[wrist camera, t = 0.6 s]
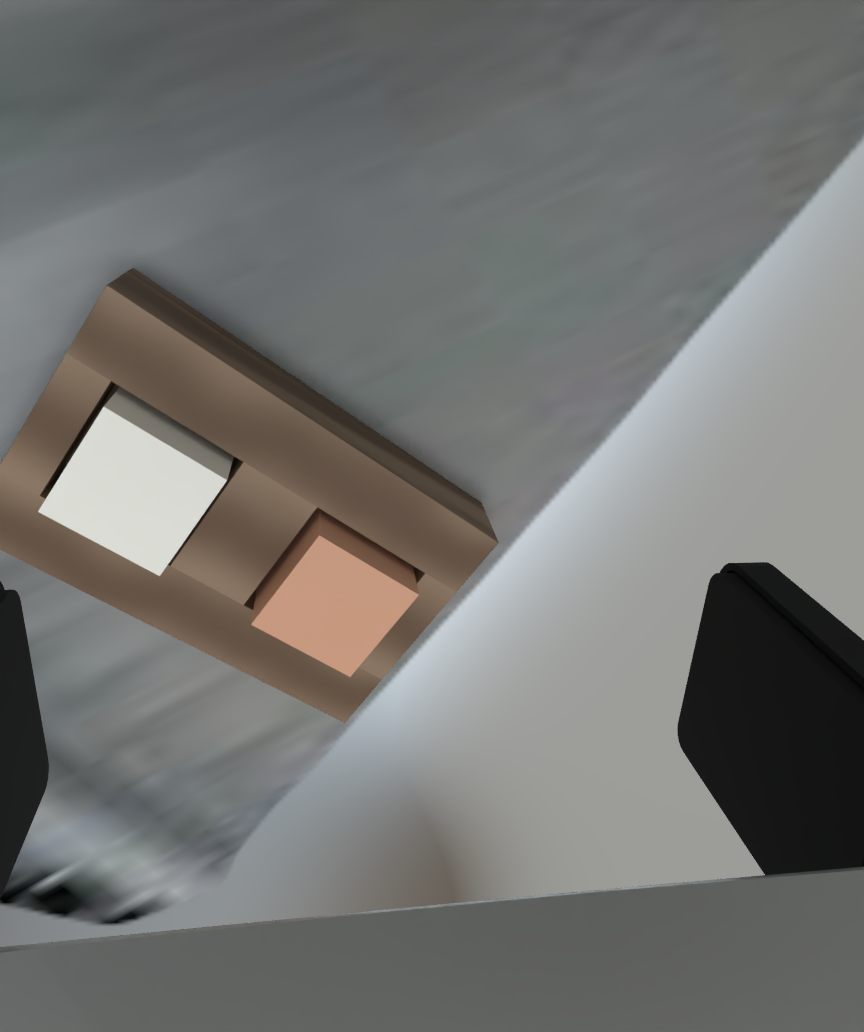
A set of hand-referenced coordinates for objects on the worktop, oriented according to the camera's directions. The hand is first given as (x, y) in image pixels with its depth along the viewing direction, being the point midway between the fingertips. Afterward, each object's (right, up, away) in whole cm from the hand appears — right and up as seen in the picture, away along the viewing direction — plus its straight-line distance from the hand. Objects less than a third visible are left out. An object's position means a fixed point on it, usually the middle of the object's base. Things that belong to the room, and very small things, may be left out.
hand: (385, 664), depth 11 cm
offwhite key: (-13, +4, +28) cm, 31 cm away
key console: (-9, +3, +33) cm, 34 cm away
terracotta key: (-5, -1, +32) cm, 32 cm away
